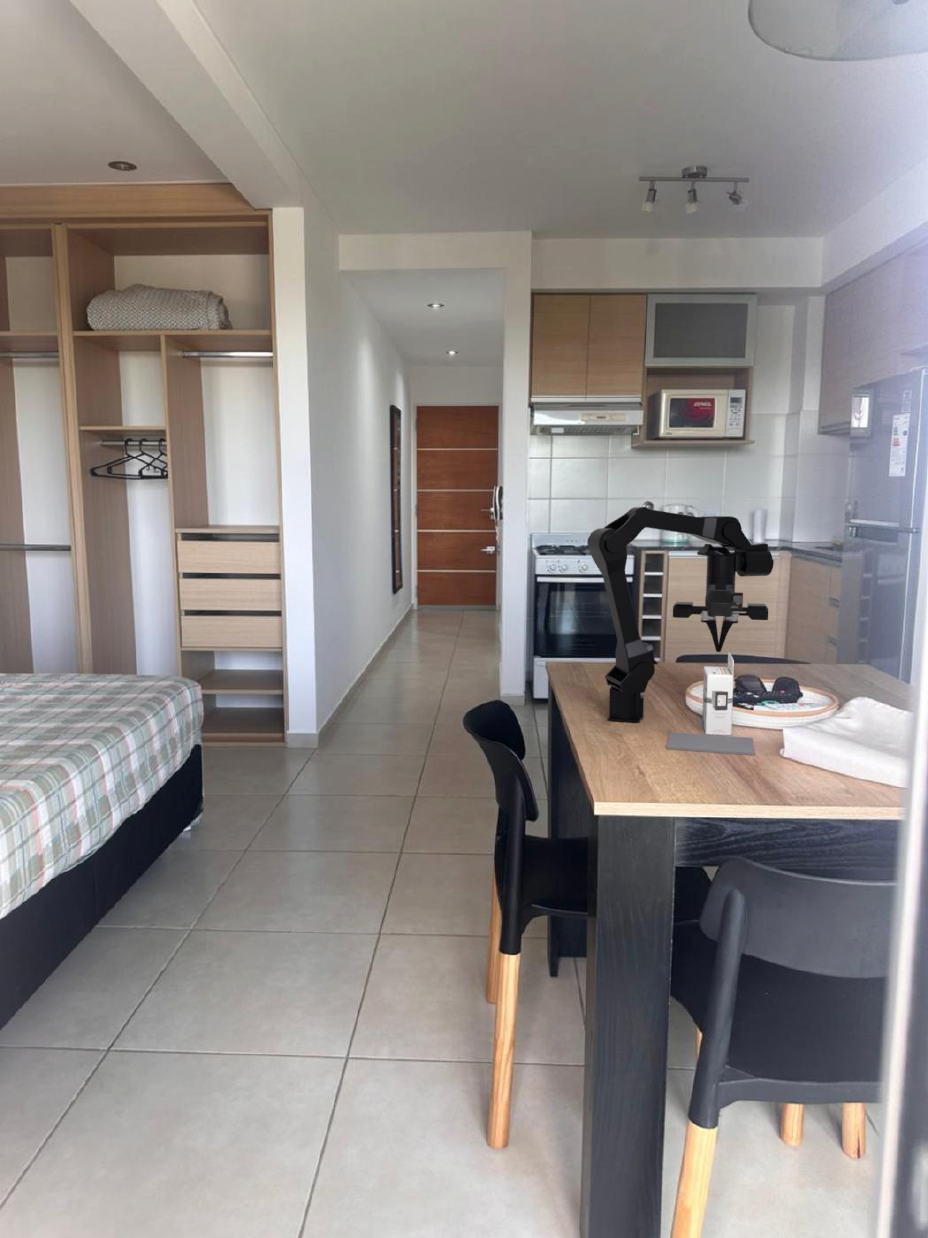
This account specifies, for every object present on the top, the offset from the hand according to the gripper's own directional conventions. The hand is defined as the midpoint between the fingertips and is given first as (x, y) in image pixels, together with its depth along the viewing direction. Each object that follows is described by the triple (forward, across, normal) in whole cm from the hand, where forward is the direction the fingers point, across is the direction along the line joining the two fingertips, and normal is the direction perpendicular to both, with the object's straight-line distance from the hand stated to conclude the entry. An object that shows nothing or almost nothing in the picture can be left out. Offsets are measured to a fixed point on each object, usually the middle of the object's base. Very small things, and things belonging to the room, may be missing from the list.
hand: (718, 651), depth 174 cm
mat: (+13, -1, -25) cm, 28 cm away
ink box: (+13, 0, -14) cm, 19 cm away
